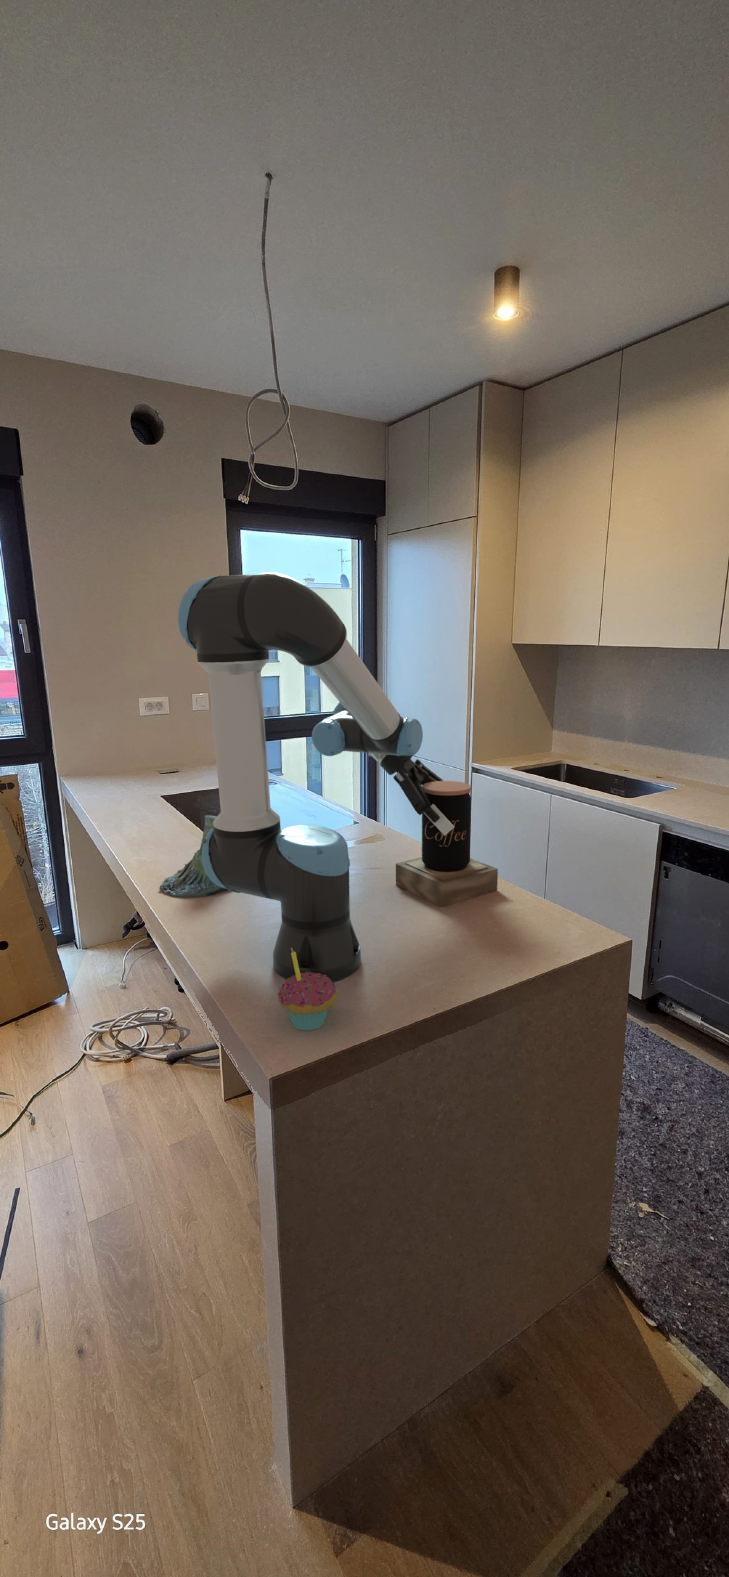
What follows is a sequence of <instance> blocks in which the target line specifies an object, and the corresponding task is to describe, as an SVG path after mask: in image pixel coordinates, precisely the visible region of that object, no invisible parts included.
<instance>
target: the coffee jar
mask: <svg viewBox="0 0 729 1577" xmlns="http://www.w3.org/2000/svg"><path fill="white" fill-rule="evenodd" d="M422 787H423V789H424V791H425V793H426V796H427V798H428V800H429V802H430V804H431V805H433V804H434V805H435V806H436V807H437V808H438V809H439V811H440V812H441V813H442V814H443V815H444V816H445V817H446V818H447V819H448V820H449V821H450V822H451V823H452V825H453V826H454V828H453V829H452V830H451V831H449V832H448V833H447V834H446V835H445V836H444V835H443V833H442V832H441V831H440V830H439V829H438V828H437V827H436V826H435V825H434V824H433V823H432V822H431V820H430V819H429V818H428V817H427V816H426V815H425V814H424V812H423V813H422V814H421V857H422V861H423V863H424V864H425V866H426V867H427V868H429V869H431V870H434V871H440V872H455V871H460V870H463V869H465V868H466V867H467V865H468V864H469V862H470V858H471V835H472V834H471V830H472V828H471V826H472V824H471V822H472V797H471V795H470V792H472V785H470V784H469V783H467V782H463V781H456V780H455V781H454V780H443V781H435V782H429V783H425V784H424V785H422Z"/></svg>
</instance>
